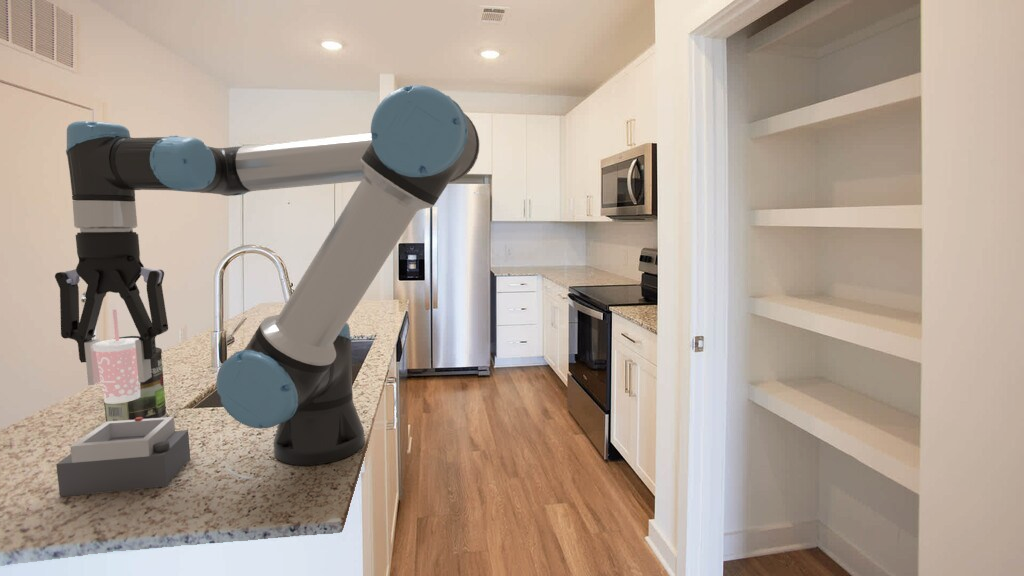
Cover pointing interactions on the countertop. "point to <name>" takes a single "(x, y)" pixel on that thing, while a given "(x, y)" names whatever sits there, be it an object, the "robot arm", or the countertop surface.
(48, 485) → the countertop surface
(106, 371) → the beverage cup
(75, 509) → the countertop surface
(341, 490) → the countertop surface
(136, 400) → the coffee can
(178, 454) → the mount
